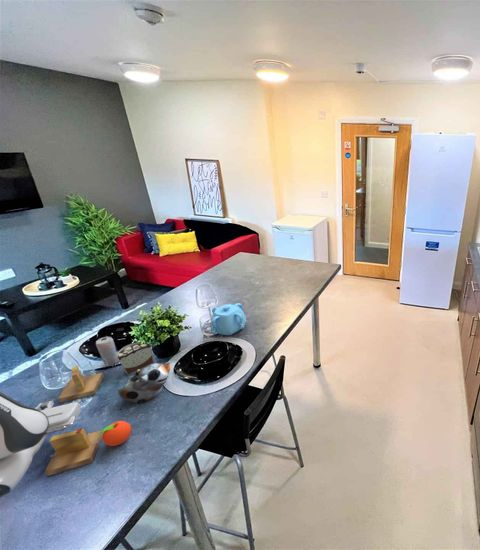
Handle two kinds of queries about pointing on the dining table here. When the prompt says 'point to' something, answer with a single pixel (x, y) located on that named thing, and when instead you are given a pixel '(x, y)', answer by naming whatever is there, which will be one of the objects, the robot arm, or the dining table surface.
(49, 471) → the wooden board
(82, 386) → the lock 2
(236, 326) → the decorative pot
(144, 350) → the food container
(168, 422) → the dining table surface
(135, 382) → the lucky cat figurine
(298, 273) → the dining table surface
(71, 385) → the plate
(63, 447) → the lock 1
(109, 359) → the pillar candle
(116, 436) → the clementine
